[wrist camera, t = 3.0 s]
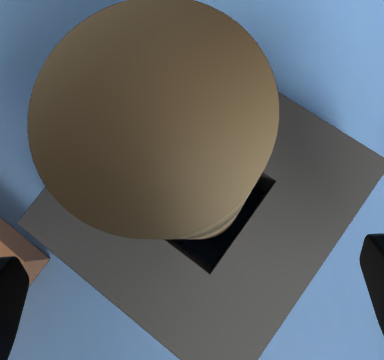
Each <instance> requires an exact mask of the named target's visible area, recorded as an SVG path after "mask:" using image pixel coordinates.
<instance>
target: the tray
mask: <svg viewBox="0 0 384 360" xmlns="http://www.w3.org/2000/svg"><path fill="white" fill-rule="evenodd" d="M8 256H16V257H17V258H18V259H19V260H20V262H21V263H22V265H23V267H24V268H25V270H26V272H27V273H28V275H29V286H30V285H31V283H32V282H33V281H34V279H35V278H36V277H37V275H38V274H39V273H40V271H41V270H42V269H43V268H44V266H45V265H46V264H47V262H48V261H49V260H50V259H49V258H48V257H47V256H46V255H45V254H43V253H42V252H41V251H40V250H39V249H38V248H36V247H35V246H34V245H33V244H32V243H30V242H29V241H28V240H27V239H26V238H24V237H23V236H22V235H21V234H20V233H19V232H17V231H16V230H15V229H14V228H13V227H11V226H10V225H9V224H8V223H7V222H5V221H4V220H3V219H2V218H1V217H0V257H8Z"/></svg>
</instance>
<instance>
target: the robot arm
mask: <svg viewBox="0 0 384 360" xmlns="http://www.w3.org/2000/svg"><path fill="white" fill-rule="evenodd" d="M360 266H361V269H362V272H363V275H364V279H365V282H366V285H367V288H368V291H369V295H370V298H371V301H372V304H373V307H374V311H375V314H376V317H377V320H378V323H379V325H380V328H381V330H382V333H383V335H384V234H369V235H367V236H366V237H365V239H364V243H363V247H362V250H361V254H360ZM28 287H29V275H28V273H27V272H26V270H25V268H24V267H23V265H22V263H21V262H20V260H19V259H18V258H17V257H16V256H8V257H0V360H8V357H9V354H10V352H11V349H12V346H13V343H14V340H15V337H16V333H17V330H18V326H19V322H20V318H21V314H22V311H23V307H24V303H25V299H26V295H27V291H28Z"/></svg>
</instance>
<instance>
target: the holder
mask: <svg viewBox="0 0 384 360" xmlns="http://www.w3.org/2000/svg"><path fill="white" fill-rule="evenodd" d="M278 98H279V124H278V131H277V137H276V140H275V144H274V147H273V151H272V153H271V156H270V158H269V160H268V162H267V165H266V167H265V169H264V171H263V172H262V174H261V176H260V177H259V179H258V181H257V183H256V184H255V186H256V187H257V188H259V189H260V190H262V191H263V192H265V195H264V196H263V197H262V199H261V200H260V202H259V203H258V204H257V206H256V207H255V209H254V210H253V211H252V213H251V214H250V216H249V217H248V218H247V220H246V221H245V223H244V224H243V226H242V227H241V228H240V230H239V231H238V233H237V234H236V235H235V237H234V238H233V240H232V241H231V242H230V244H229V245H228V247H227V248H226V249H225V251H224V252H223V254H222V255H221V256H220V258H219V259H218V261H217V262H216V264H215V265H214V266H213V267H212V266H211V265H209V264H208V263H207V262H205V261H204V260H203V259H201V258H200V257H199V256H198V255H196V254H195V253H194V252H192V251H191V250H190V249H188V248H187V247H186V246H184V245H183V244H182V243H180V242H179V241H178V240H176V239H131V238H126V237H120V236H115V235H112V234H109V233H106V232H103V231H100V230H97V229H95V228H93V227H91V226H89V225H87V224H85V223H83V222H82V221H80V220H79V219H77V218H76V217H75V216H73V215H72V214H70V213H69V212H68V211H67V210H66V209H65V208H64V207H63V206H61V205H60V204H59V203H58V202H57V200H56V199H55V198H54V197H53V196H52V194H51V193H50V192H49V191H48V189H47V188H46V187H45V188H44V189H43V190H42V192H41V193H40V194H39V196H38V197H37V198H36V199H35V201H34V202H33V203H32V205H31V206H30V207H29V208H28V210H27V211H26V212H25V213H24V215H23V216H22V217H21V219H20V220H19V221H18V222H17V224H18V225H20V226H21V227H22V228H23V229H24V230H26V231H27V232H28V233H29V234H30V235H32V236H33V237H34V238H35V239H36V240H38V241H39V242H40V243H41V244H42V245H44V246H45V247H46V248H47V249H48V250H50V251H51V252H52V253H53V254H54V255H56V256H57V257H58V258H59V259H60V260H61V261H63V262H64V263H65V264H66V265H67V266H69V267H70V268H71V269H72V270H73V271H75V272H76V273H77V274H78V275H79V276H81V277H82V278H83V279H84V280H85V281H87V282H88V283H89V284H90V285H91V286H93V287H94V288H95V289H96V290H97V291H99V292H100V293H101V294H102V295H103V296H105V297H106V298H107V299H108V300H109V301H111V302H112V303H113V304H114V305H115V306H116V307H118V308H119V309H120V310H121V311H122V312H124V313H125V314H126V315H127V316H128V317H130V318H131V319H132V320H133V321H134V322H136V323H137V324H138V325H139V326H140V327H142V328H143V329H144V330H145V331H146V332H148V333H149V334H150V335H151V336H152V337H154V338H155V339H156V340H157V341H158V342H160V343H161V344H162V345H163V346H164V347H165V348H167V349H168V350H169V351H170V352H171V353H173V354H174V355H175V356H176V357H177V358H179V359H180V360H258V359H259V357H260V356H261V354H262V353H263V351H264V350H265V348H266V347H267V345H268V344H269V342H270V341H271V339H272V338H273V336H274V335H275V333H276V332H277V331H278V329H279V328H280V326H281V325H282V323H283V322H284V320H285V319H286V317H287V316H288V314H289V313H290V311H291V310H292V308H293V307H294V305H295V304H296V302H297V301H298V300H299V298H300V297H301V295H302V294H303V292H304V291H305V289H306V288H307V286H308V285H309V283H310V282H311V280H312V279H313V277H314V276H315V274H316V273H317V271H318V270H319V269H320V267H321V266H322V264H323V263H324V261H325V260H326V258H327V257H328V255H329V254H330V252H331V251H332V249H333V248H334V246H335V245H336V243H337V242H338V240H339V239H340V238H341V236H342V235H343V233H344V232H345V230H346V229H347V227H348V226H349V224H350V223H351V221H352V220H353V218H354V217H355V215H356V214H357V212H358V211H359V209H360V208H361V207H362V205H363V204H364V202H365V201H366V199H367V198H368V196H369V195H370V193H371V192H372V190H373V189H374V187H375V186H376V184H377V183H378V181H379V180H380V178H381V177H382V176H383V174H384V157H382V156H380V155H379V154H377V153H376V152H374V151H372V150H371V149H369V148H368V147H366V146H364V145H363V144H361V143H359V142H358V141H356V140H355V139H353V138H351V137H350V136H348V135H347V134H345V133H343V132H342V131H340V130H339V129H337V128H335V127H334V126H332V125H331V124H329V123H327V122H326V121H324V120H323V119H321V118H319V117H318V116H316V115H314V114H313V113H311V112H310V111H308V110H306V109H305V108H303V107H302V106H300V105H298V104H297V103H295V102H294V101H292V100H290V99H289V98H287V97H286V96H284V95H282V94H281V93H279V92H278Z"/></svg>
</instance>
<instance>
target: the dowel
mask: <svg viewBox="0 0 384 360" xmlns="http://www.w3.org/2000/svg"><path fill="white" fill-rule="evenodd" d="M278 124H279V98H278V91H277V85H276V82H275V78H274V75H273V71H272V69H271V67H270V65H269V63H268V60H267V58H266V56H265V55H264V53H263V51H262V50H261V48H260V47H259V45H258V44H257V42H256V41H255V40H254V39H253V38H252V36H251V35H250V34H249V33H248V32H247V31H246V30H245V29H244V28H243V27H242V26H241V25H239V24H238V23H237V22H236V21H235V20H233V19H232V18H230V17H229V16H227V15H226V14H224V13H223V12H221V11H219V10H217V9H215V8H213V7H211V6H209V5H206V4H203V3H200V2H197V1H194V0H127V1H123V2H119V3H117V4H114V5H112V6H109V7H107V8H104V9H102V10H100V11H99V12H97V13H95V14H93V15H91V16H90V17H88V18H87V19H85V20H84V21H82V22H81V23H79V24H78V25H77V26H76V27H74V28H73V29H72V30H71V31H70V32H69V33H68V34H66V35H65V37H64V38H63V39H62V40H61V41H60V42H59V43H58V44H57V45H56V47H55V48H54V49H53V51H52V52H51V53H50V55H49V56H48V58H47V59H46V61H45V63H44V65H43V66H42V68H41V70H40V72H39V74H38V77H37V79H36V82H35V84H34V87H33V91H32V94H31V98H30V103H29V110H28V139H29V147H30V151H31V154H32V158H33V162H34V164H35V166H36V169H37V171H38V174H39V176H40V178H41V179H42V181H43V183H44V184H45V186H46V188H47V189H48V191H49V192H50V193H51V194H52V196H53V197H54V198H55V199H56V200H57V202H58V203H59V204H60V205H61V206H63V207H64V208H65V209H66V210H67V211H68V212H69V213H70V214H72V215H73V216H75V217H76V218H77V219H79V220H80V221H82V222H83V223H85V224H87V225H89V226H91V227H93V228H95V229H97V230H100V231H103V232H106V233H109V234H112V235H115V236H120V237H126V238H131V239H210V238H214V237H217V236H219V235H221V234H222V233H224V232H225V231H226V230H227V229H228V228H229V227H230V226H231V225H232V224H233V222H234V220H235V219H236V217H237V215H238V213H239V212H240V210H241V208H242V207H243V205H244V203H245V201H246V200H247V198H248V196H249V195H250V193H251V191H252V189H253V188H254V186H255V184H256V183H257V181H258V179H259V177H260V176H261V174H262V172H263V171H264V169H265V167H266V165H267V162H268V160H269V158H270V156H271V153H272V151H273V147H274V144H275V140H276V137H277V131H278Z"/></svg>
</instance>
